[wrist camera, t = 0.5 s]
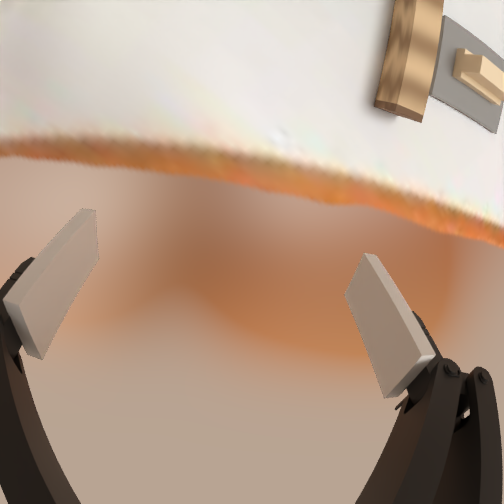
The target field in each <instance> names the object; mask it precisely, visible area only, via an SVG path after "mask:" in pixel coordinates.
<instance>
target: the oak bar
mask: <svg viewBox="0 0 504 504" xmlns="http://www.w3.org/2000/svg"><path fill="white" fill-rule="evenodd" d="M443 3H444V0H395V5H394V11H393V17H392V23H391V29H390V35H389V40H388V45H387V50H386V55H385V60H384V65H383V69H382V74H381V78H380V83H379V87H378V91H377V96H376V100H375V104H374V107H377V108H380V109H383V110H385V111H388V112H390V113H393V114H395V115H398V116H401V117H405V118H408V119H411V120H414V121H417V122H420V123H422V119H423V115H424V111H425V107H426V103H427V99H428V95H429V90H430V86H431V81H432V76H433V72H434V66H435V61H436V56H437V50H438V44H439V37H440V30H441V22H442V13H443Z"/></svg>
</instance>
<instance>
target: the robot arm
mask: <svg viewBox="0 0 504 504" xmlns="http://www.w3.org/2000/svg"><path fill="white" fill-rule="evenodd" d="M98 260H99V254H98V243H97V228H96V211H95V210H90V209H81V210H80V211H79V212H78V213H77V214H76V215H75V216H74V217H73V218H72V219H71V220H70V221H69V222H68V223H67V224H66V225H65V226H64V227H63V228H62V229H61V230H60V231H59V233H58V234H57V235H56V236H55V237H54V238H53V239H52V240H51V241H50V242H49V243H48V244H47V246H46V247H45V248H44V249H43V250H42V251H41V252H40V253H39V255H38V256H37V257H36V258H32V257H30V258H29V259H27V260H26V261H24V262H23V263H21V265H20V266H19V267H18V268H17V269H16V270H15V273H13V274H12V275H11V276H10V279H8V280H7V281H6V283H5V284H4V285H3V286H2V288H1V289H0V485H1V487H2V490H3V493H4V495H5V497H6V500H7V502H8V504H81V503H80V501H79V500H78V498H77V496H76V494H75V493H74V491H73V489H72V487H71V486H70V484H69V482H68V480H67V478H66V476H65V475H64V473H63V471H62V469H61V467H60V465H59V463H58V461H57V459H56V456H55V454H54V452H53V450H52V448H51V445H50V443H49V441H48V438H47V436H46V433H45V431H44V429H43V426H42V423H41V421H40V418H39V415H38V413H37V410H36V407H35V404H34V401H33V398H32V395H31V391H30V388H29V385H28V381H27V378H26V374H25V371H24V367H23V363H22V359H21V356H20V354H19V352H18V351H19V349H20V348H21V346H22V345H23V347H24V349H25V351H26V353H27V354H28V355H30V356H33V357H36V358H38V359H41V360H43V358H44V356H45V354H46V352H47V350H48V348H49V346H50V344H51V342H52V340H53V338H54V336H55V334H56V332H57V330H58V328H59V326H60V324H61V323H62V321H63V319H64V317H65V315H66V313H67V312H68V310H69V308H70V306H71V304H72V303H73V301H74V299H75V297H76V296H77V294H78V292H79V291H80V289H81V287H82V285H83V284H84V282H85V281H86V279H87V277H88V276H89V274H90V272H91V271H92V269H93V268H94V266H95V265H96V263H97V261H98ZM344 295H345V298H346V300H347V302H348V305H349V307H350V310H351V312H352V315H353V317H354V319H355V322H356V324H357V327H358V329H359V332H360V334H361V337H362V340H363V342H364V344H365V347H366V350H367V352H368V355H369V358H370V360H371V363H372V366H373V369H374V371H375V374H376V377H377V380H378V382H379V385H380V388H381V391H382V394H383V397H384V398H390V397H398V396H399V395H400V394H401V393H402V392H403V391H404V390H405V389H407V391H408V395H407V397H405V398H404V399H403V400H402V401H401V402H400V403H399V404H398V405H397V406H396V408H395V410H397V409H398V408H399V407H401V406H402V407H401V409H400V412H399V415H398V417H397V420H396V422H395V425H394V427H393V430H392V432H391V434H390V437H389V439H388V441H387V443H386V446H385V448H384V450H383V452H382V454H381V456H380V458H379V460H378V462H377V464H376V466H375V468H374V470H373V472H372V474H371V476H370V478H369V480H368V482H367V483H366V485H365V487H364V489H363V491H362V493H361V495H360V496H359V498H358V499H357V501H356V503H355V504H502V447H501V435H500V425H499V418H498V410H497V403H496V397H495V392H494V386H493V381H492V378H491V376H490V374H489V372H488V371H487V370H486V369H484V368H482V367H476V368H474V370H473V371H472V372H471V373H470V374H468V373H463V372H461V370H460V368H459V367H458V365H457V364H456V363H455V362H453V361H452V360H450V359H448V358H443V357H442V356H441V354H440V352H439V350H438V348H437V346H436V345H435V343H434V341H433V339H432V337H431V336H429V332H428V330H427V329H425V328H426V327H425V325H424V323H423V322H422V320H421V318H420V317H419V316H417V314H416V313H414V311H411V309H410V308H409V306H408V304H407V303H406V301H405V299H404V298H403V296H402V294H401V293H400V291H399V290H398V288H397V286H396V285H395V283H394V282H393V280H392V279H391V277H390V275H389V274H388V272H387V271H386V269H385V268H384V266H383V265H382V263H381V262H380V260H379V259H378V257H377V256H376V255H373V254H367V253H364V254H363V256H362V258H361V260H360V263H359V265H358V267H357V269H356V271H355V274H354V276H353V278H352V280H351V282H350V284H349V287H348V288H347V290H346V292H345V294H344ZM468 409H470V415H469V416H467V417H466V418H464V413H465V412H466V411H467V410H468Z"/></svg>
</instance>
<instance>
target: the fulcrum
mask: <svg viewBox="0 0 504 504" xmlns="http://www.w3.org/2000/svg"><path fill="white" fill-rule="evenodd" d="M429 95H431V96H433V97H435V98H437V99H438V100H440V101H442V102H444V103H446V104H447V105H449V106H451V107H453V108H455V109H456V110H458V111H460V112H461V113H463V114H465V115H466V116H468V117H469V118H471V119H473V120H474V121H476V122H477V123H479V124H480V125H482V126H483V127H485V128H486V129H488V130H489V131H491V132H492V133H495V134H496V133H497V129H498V125H499V120H500V116H501V112H502V107H503V102H504V60H503V59H502V58H501V57H500V56H499V55H498V54H497V53H495V52H494V51H493V50H492V49H491V48H489V47H488V46H487V45H486V44H485V43H483V42H482V41H481V40H479V39H478V38H477V37H476V36H474V35H473V34H472V33H470V32H469V31H468V30H466V29H465V28H463V27H462V26H461V25H459V24H458V23H456V22H455V21H453V20H452V19H450V18H449V17H447V16H446V15H444V16H442V22H441V30H440V37H439V44H438V50H437V56H436V61H435V66H434V72H433V76H432V81H431V86H430V90H429Z"/></svg>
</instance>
